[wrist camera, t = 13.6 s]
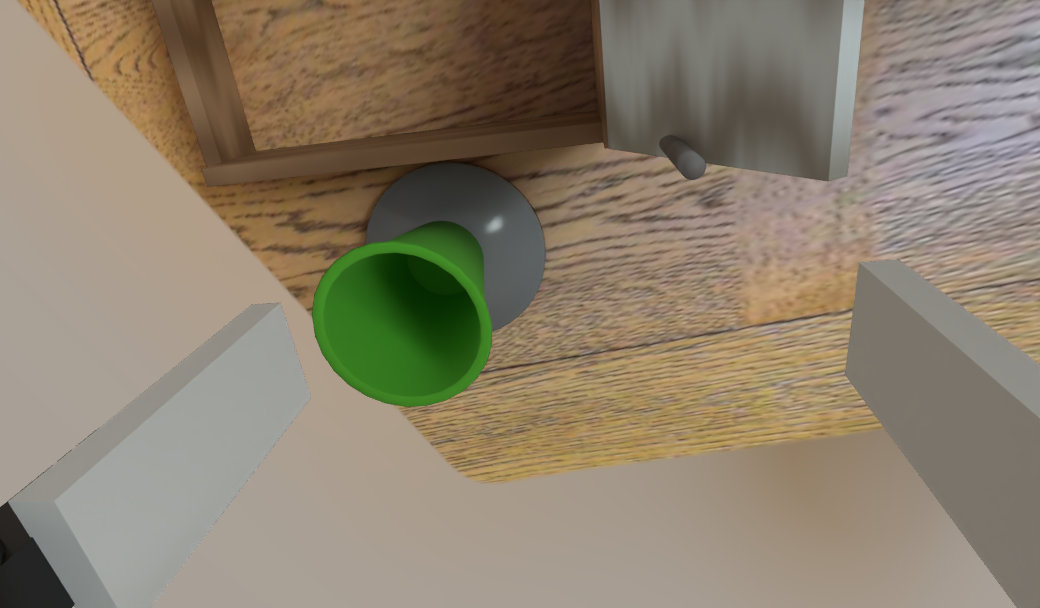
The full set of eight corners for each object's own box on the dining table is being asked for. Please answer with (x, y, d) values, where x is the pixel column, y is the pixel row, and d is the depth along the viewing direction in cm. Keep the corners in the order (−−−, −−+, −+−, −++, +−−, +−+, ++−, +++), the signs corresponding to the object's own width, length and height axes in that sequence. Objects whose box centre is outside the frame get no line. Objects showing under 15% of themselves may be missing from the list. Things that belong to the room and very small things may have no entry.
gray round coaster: (351, 172, 38) (346, 174, 37) (535, 151, 36) (534, 153, 35) (390, 337, 42) (386, 342, 42) (554, 325, 41) (553, 330, 40)
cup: (422, 337, 41) (373, 431, 31) (353, 225, 38) (274, 288, 28) (536, 288, 39) (523, 372, 29) (471, 165, 36) (432, 210, 26)
